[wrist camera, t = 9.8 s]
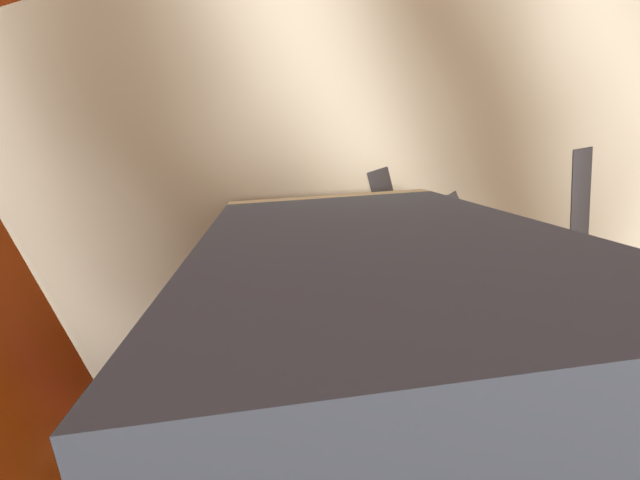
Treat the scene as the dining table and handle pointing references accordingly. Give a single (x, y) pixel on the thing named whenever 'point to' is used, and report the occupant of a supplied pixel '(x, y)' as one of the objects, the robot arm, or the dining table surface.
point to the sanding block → (374, 351)
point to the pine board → (296, 125)
